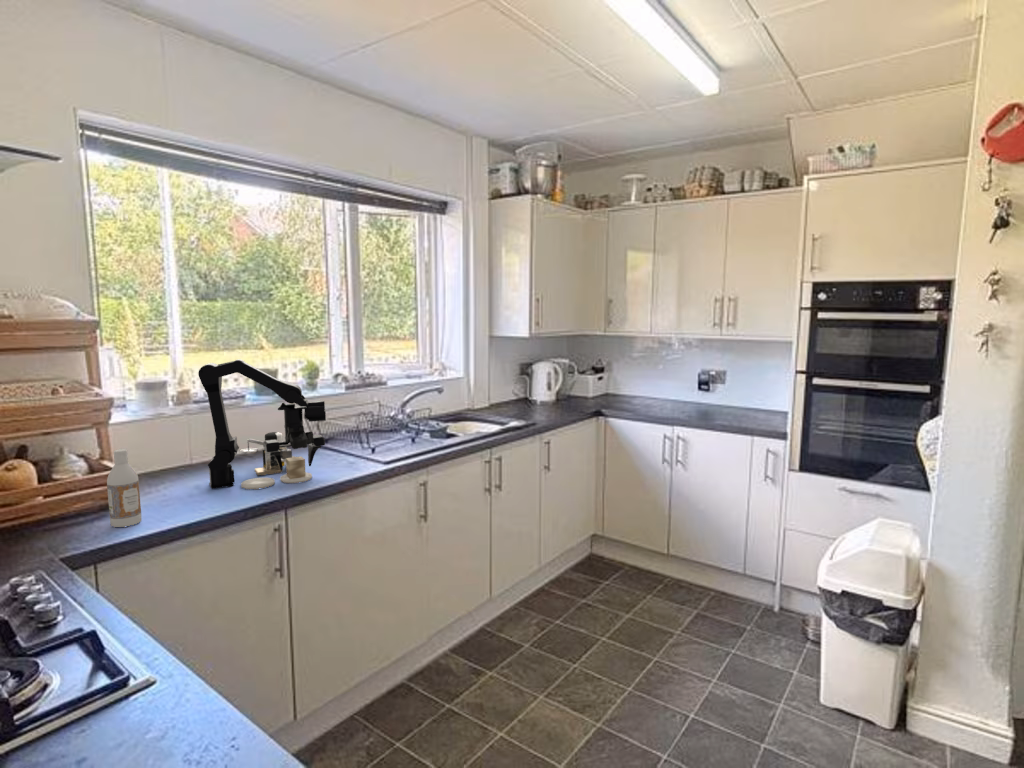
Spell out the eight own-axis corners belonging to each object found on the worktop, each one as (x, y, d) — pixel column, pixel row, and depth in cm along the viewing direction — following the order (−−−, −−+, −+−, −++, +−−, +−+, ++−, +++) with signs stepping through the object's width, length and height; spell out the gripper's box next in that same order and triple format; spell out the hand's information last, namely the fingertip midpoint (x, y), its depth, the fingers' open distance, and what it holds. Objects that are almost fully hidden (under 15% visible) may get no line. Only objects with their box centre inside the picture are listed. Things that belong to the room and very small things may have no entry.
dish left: (244, 491, 183) (244, 488, 183) (238, 483, 191) (238, 480, 191) (277, 486, 188) (277, 483, 188) (271, 478, 197) (271, 475, 197)
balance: (241, 478, 197) (239, 441, 196) (238, 474, 202) (236, 438, 201) (297, 470, 207) (296, 435, 206) (293, 466, 212) (291, 432, 211)
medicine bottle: (263, 468, 210) (261, 435, 208) (266, 463, 217) (264, 431, 215) (284, 466, 212) (282, 434, 210) (286, 461, 219) (285, 430, 217)
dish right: (284, 485, 190) (284, 482, 189) (277, 477, 198) (277, 474, 198) (315, 480, 195) (315, 477, 195) (307, 473, 203) (307, 470, 203)
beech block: (290, 479, 193) (289, 461, 192) (286, 475, 197) (285, 458, 196) (305, 476, 196) (304, 459, 195) (301, 473, 200) (301, 456, 199)
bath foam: (119, 530, 150) (113, 454, 148) (105, 525, 154) (98, 451, 151) (147, 521, 156) (141, 449, 154) (132, 517, 160) (126, 446, 157)
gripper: (269, 429, 182) (271, 478, 184) (329, 423, 192) (330, 469, 194) (261, 423, 191) (264, 470, 193) (319, 418, 202) (321, 462, 204)
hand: (295, 468), depth 196 cm, fingers open, 9 cm apart
